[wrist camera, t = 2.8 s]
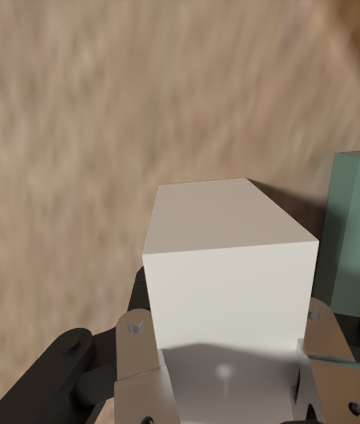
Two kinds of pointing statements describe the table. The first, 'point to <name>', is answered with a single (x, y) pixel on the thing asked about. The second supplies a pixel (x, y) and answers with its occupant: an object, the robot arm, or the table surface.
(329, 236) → the header board
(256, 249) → the block
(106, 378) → the robot arm
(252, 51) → the table surface
